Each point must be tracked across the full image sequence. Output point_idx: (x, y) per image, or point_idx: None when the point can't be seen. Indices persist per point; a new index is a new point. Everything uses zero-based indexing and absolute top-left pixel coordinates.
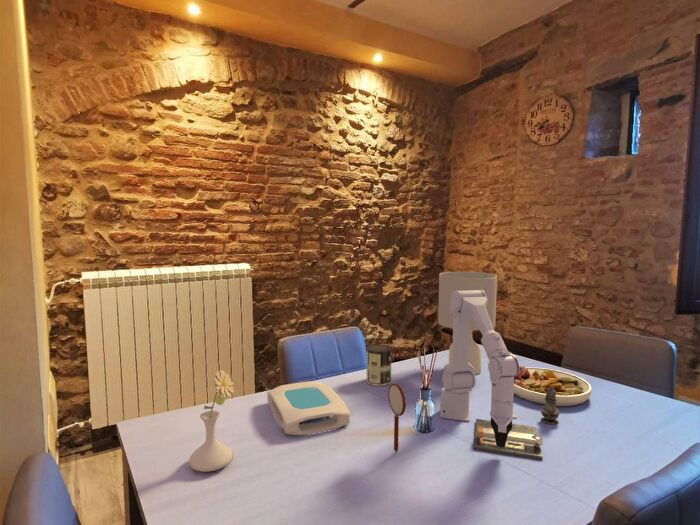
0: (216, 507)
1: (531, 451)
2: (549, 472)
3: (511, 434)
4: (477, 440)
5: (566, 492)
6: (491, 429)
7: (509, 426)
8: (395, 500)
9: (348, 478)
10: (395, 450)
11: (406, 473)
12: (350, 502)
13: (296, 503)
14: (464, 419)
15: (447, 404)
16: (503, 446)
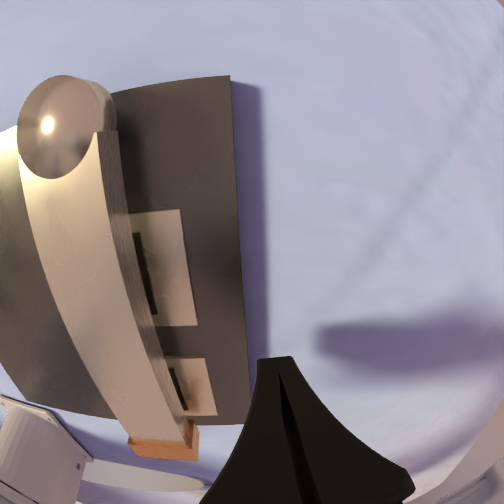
0: (437, 480)
1: (180, 156)
2: (375, 64)
3: (108, 335)
4: (195, 419)
5: (487, 54)
6: (124, 419)
7: (400, 498)
8: (470, 423)
9: (410, 473)
10: None
11: (406, 451)
12: (458, 446)
13: (446, 464)
14: (55, 424)
15: (68, 482)
16: (294, 362)
